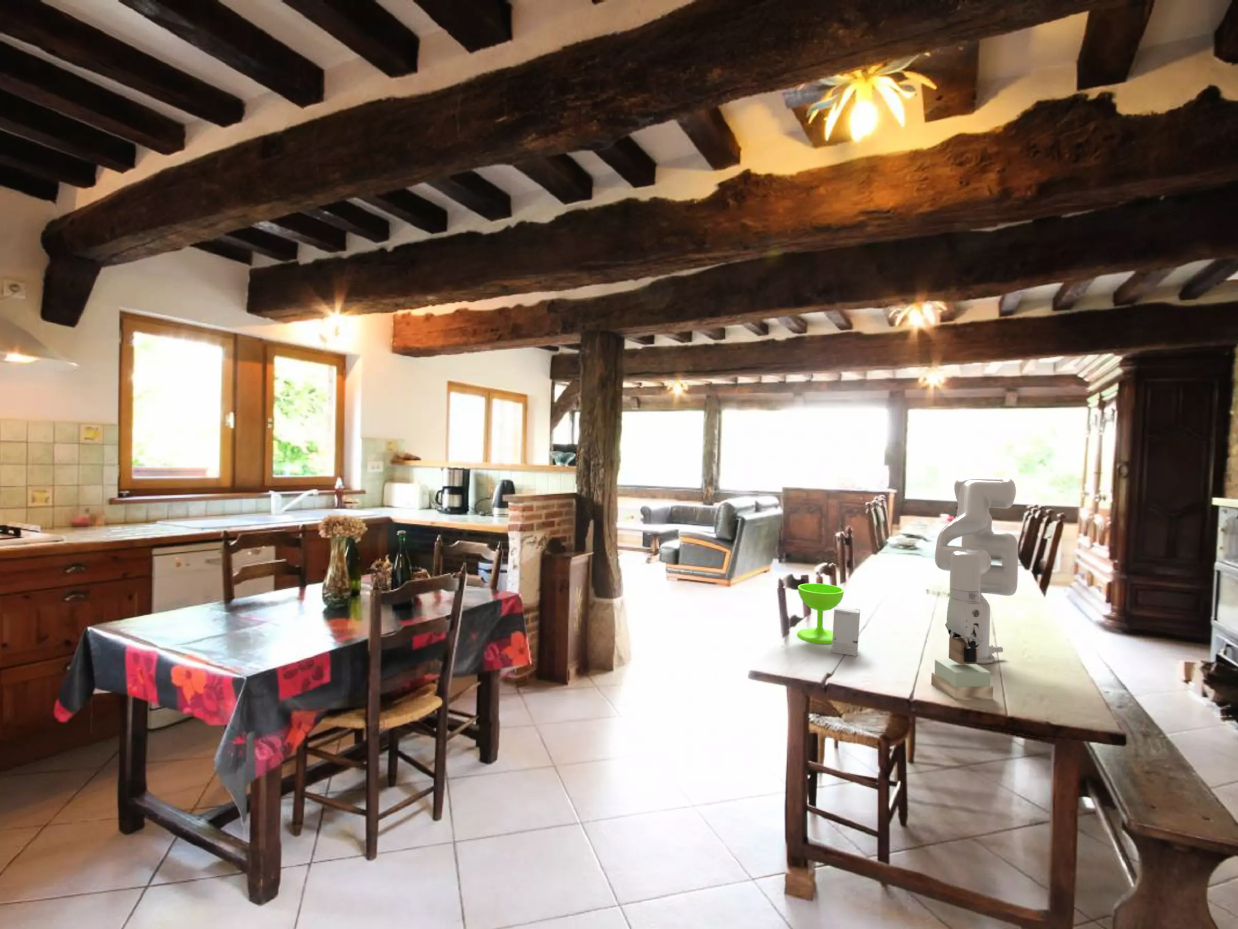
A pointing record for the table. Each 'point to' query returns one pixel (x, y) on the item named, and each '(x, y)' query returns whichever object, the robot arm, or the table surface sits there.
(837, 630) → the skincare box
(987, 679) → the block top
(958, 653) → the walnut block
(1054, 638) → the table surface
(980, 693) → the block bottom
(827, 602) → the wineglass
